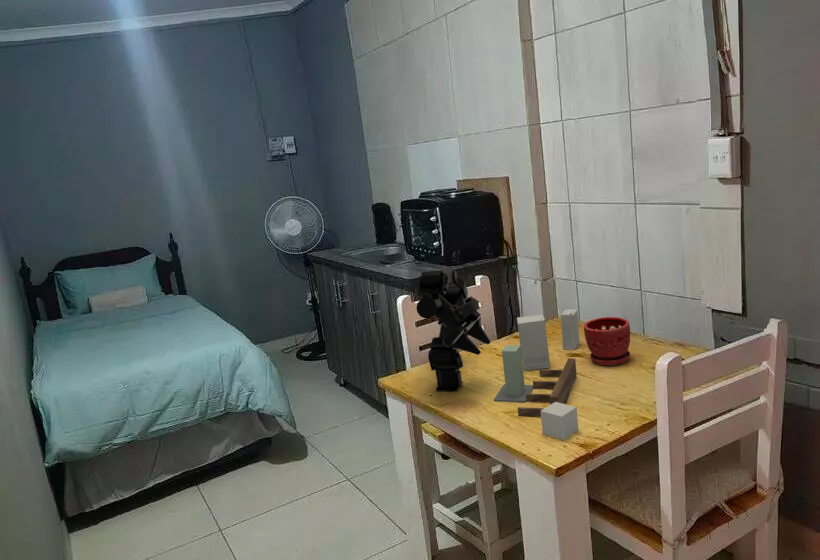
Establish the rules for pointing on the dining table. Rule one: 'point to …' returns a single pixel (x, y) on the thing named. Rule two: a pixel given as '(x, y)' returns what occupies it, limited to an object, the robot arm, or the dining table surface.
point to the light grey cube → (559, 420)
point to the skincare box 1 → (533, 342)
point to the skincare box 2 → (570, 329)
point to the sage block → (513, 370)
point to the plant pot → (608, 340)
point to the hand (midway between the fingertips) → (484, 348)
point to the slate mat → (504, 398)
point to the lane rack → (559, 388)
